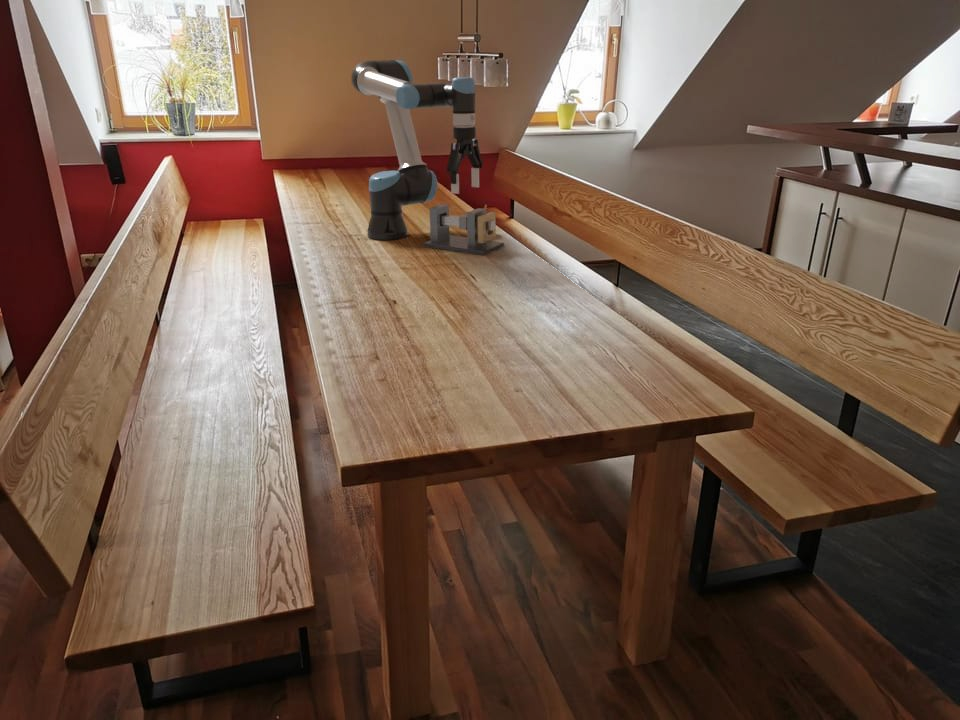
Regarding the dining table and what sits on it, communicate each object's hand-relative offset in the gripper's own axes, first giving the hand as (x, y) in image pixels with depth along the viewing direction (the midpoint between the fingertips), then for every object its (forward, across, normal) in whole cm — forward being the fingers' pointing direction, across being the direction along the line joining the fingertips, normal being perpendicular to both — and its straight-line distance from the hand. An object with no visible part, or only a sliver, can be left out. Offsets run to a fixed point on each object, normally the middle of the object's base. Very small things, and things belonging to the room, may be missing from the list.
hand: (465, 190), depth 261 cm
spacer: (+12, 0, -8) cm, 15 cm away
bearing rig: (+20, 0, +1) cm, 20 cm away
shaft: (+13, 0, +1) cm, 13 cm away
